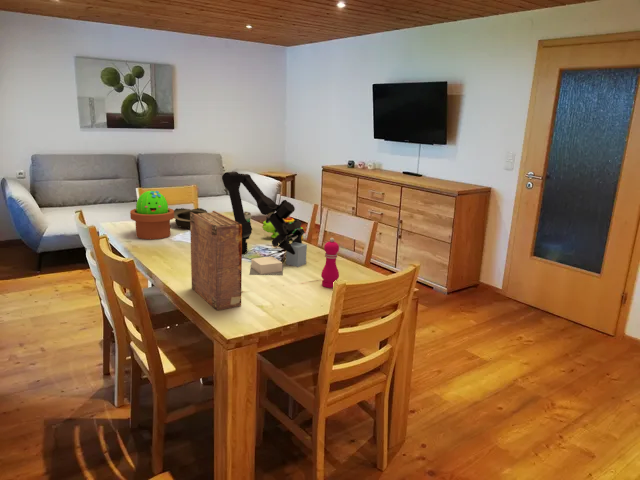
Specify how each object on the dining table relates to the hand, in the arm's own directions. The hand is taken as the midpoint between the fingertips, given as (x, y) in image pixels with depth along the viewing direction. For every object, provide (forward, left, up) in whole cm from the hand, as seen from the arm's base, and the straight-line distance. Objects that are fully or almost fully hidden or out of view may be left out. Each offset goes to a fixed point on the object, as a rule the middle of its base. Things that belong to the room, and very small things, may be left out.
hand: (298, 252), depth 218 cm
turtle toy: (-7, +50, -7) cm, 51 cm away
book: (-32, -38, -7) cm, 51 cm away
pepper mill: (+12, -24, -7) cm, 28 cm away
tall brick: (-1, +1, -7) cm, 7 cm away
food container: (-28, +66, -7) cm, 72 cm away
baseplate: (-14, -8, -7) cm, 18 cm away
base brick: (-14, -8, -6) cm, 17 cm away
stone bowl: (-60, +74, -7) cm, 96 cm away
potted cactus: (-76, +49, -7) cm, 91 cm away
